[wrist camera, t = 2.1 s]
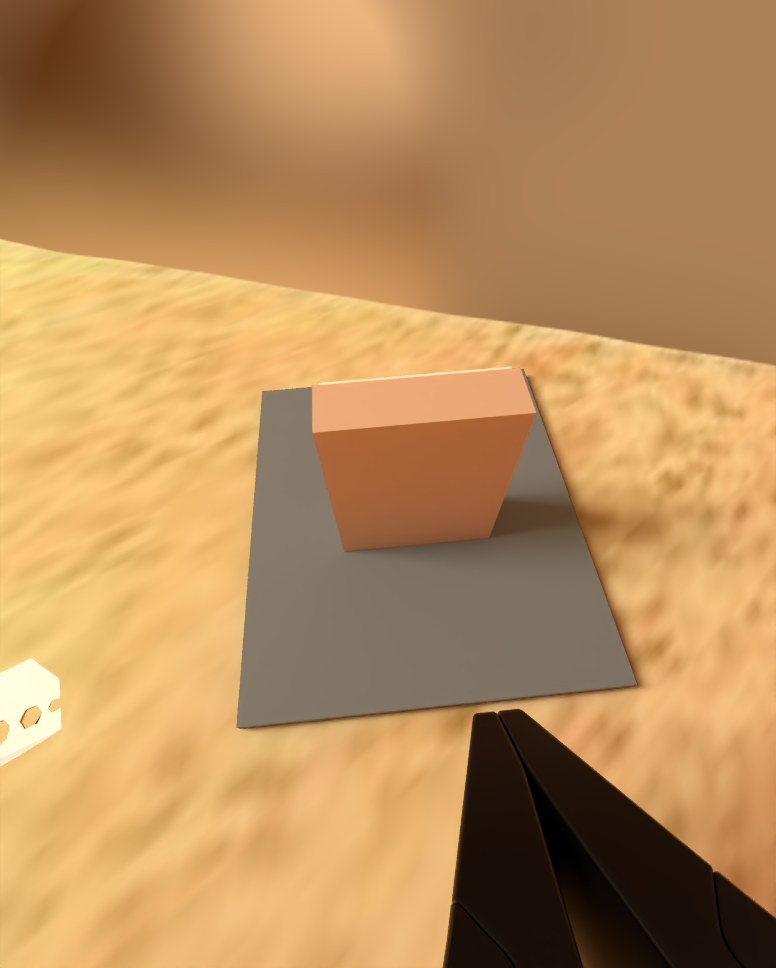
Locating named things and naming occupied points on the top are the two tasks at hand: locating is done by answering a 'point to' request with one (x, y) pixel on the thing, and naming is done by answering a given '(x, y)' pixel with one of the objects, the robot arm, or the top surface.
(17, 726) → the knife
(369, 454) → the tile
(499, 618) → the mat
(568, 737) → the top surface
